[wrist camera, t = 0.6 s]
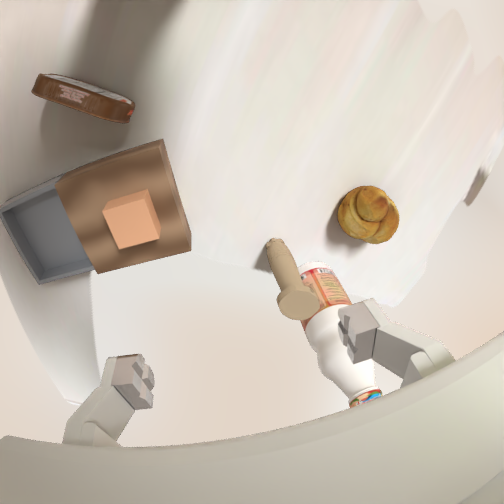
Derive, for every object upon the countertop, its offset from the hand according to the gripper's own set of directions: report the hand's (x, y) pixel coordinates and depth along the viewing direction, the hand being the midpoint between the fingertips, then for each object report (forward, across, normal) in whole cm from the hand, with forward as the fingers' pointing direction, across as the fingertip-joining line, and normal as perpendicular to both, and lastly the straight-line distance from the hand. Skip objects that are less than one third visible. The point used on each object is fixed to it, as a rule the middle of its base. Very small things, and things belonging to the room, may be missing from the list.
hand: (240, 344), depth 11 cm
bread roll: (+36, -24, +14) cm, 46 cm away
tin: (+33, +14, -15) cm, 39 cm away
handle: (+36, -7, +17) cm, 41 cm away
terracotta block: (+30, +12, +3) cm, 32 cm away
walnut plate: (+35, +14, +3) cm, 38 cm away
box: (+35, +30, +3) cm, 46 cm away
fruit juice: (+38, -13, +27) cm, 48 cm away
